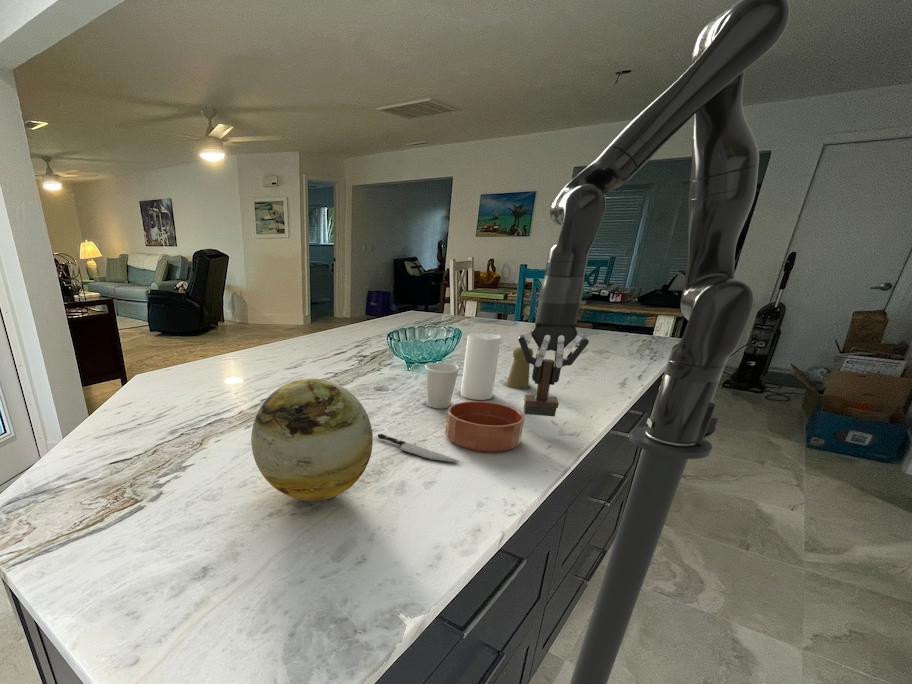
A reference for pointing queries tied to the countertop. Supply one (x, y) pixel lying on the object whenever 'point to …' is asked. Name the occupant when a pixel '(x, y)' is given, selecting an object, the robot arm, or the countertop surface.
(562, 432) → the countertop surface
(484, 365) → the white tall cylinder
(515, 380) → the olive pepper shaker
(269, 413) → the decorative sphere
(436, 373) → the dixie cup
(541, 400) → the scrub brush
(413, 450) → the chef's knife
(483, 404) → the bowl
